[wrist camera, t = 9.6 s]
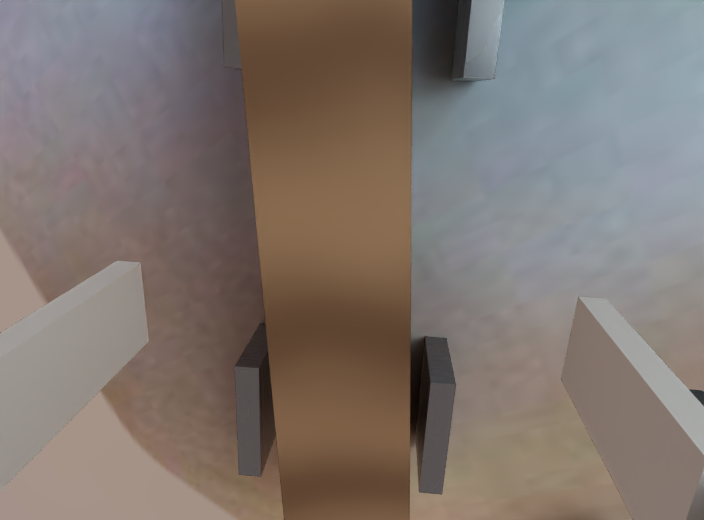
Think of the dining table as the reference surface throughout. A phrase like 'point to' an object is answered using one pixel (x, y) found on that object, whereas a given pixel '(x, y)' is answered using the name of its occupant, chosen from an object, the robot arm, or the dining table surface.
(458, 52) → the slat support bracket
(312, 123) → the walnut slat
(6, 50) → the dining table surface
